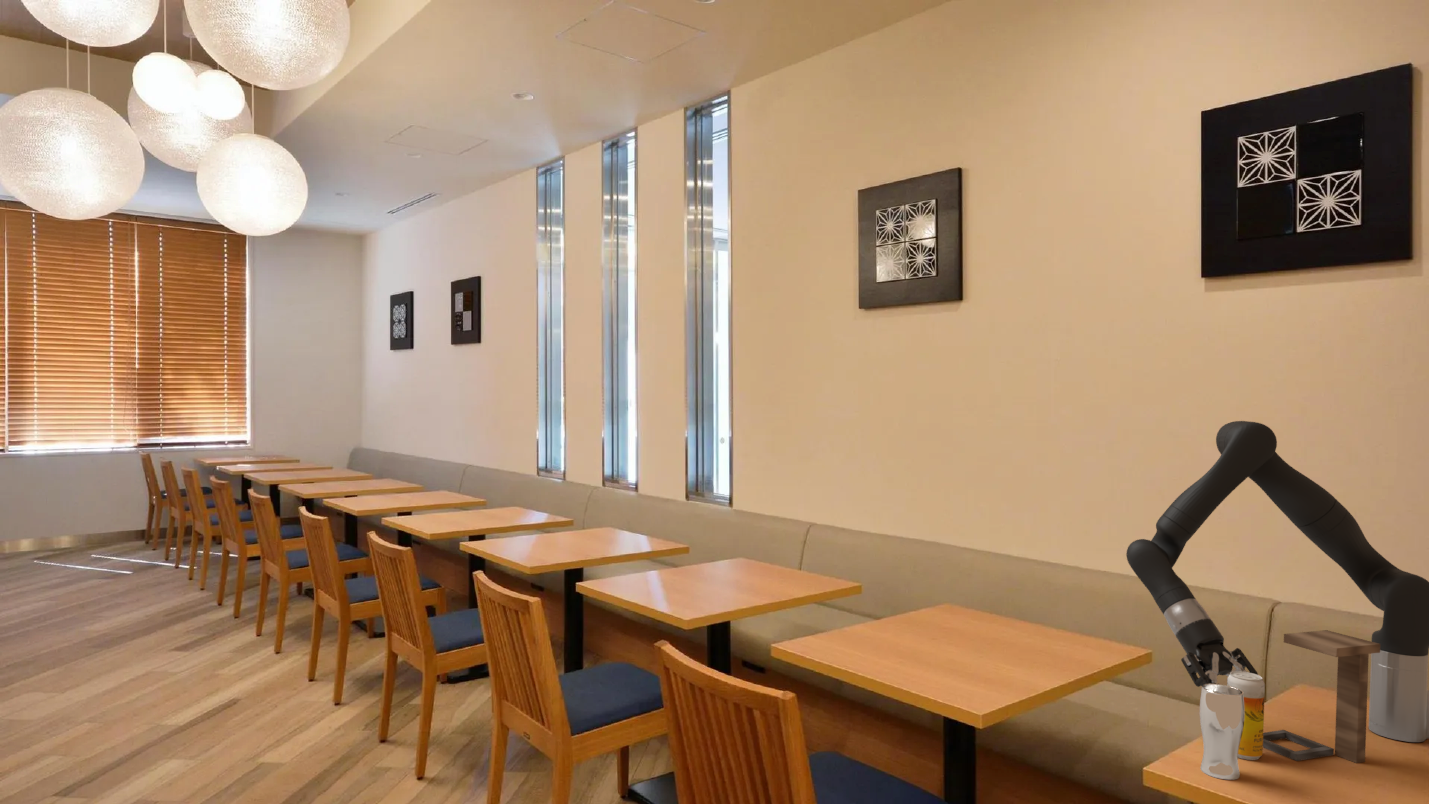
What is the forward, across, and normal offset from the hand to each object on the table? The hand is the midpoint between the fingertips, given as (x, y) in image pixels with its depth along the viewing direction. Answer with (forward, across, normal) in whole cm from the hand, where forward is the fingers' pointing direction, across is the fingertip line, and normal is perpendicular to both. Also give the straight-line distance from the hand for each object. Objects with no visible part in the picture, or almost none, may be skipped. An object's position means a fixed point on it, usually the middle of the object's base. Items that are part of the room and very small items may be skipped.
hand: (1242, 702), depth 168 cm
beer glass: (+11, -12, +3) cm, 16 cm away
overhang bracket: (+9, +14, +4) cm, 17 cm away
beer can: (+7, 0, +6) cm, 10 cm away
